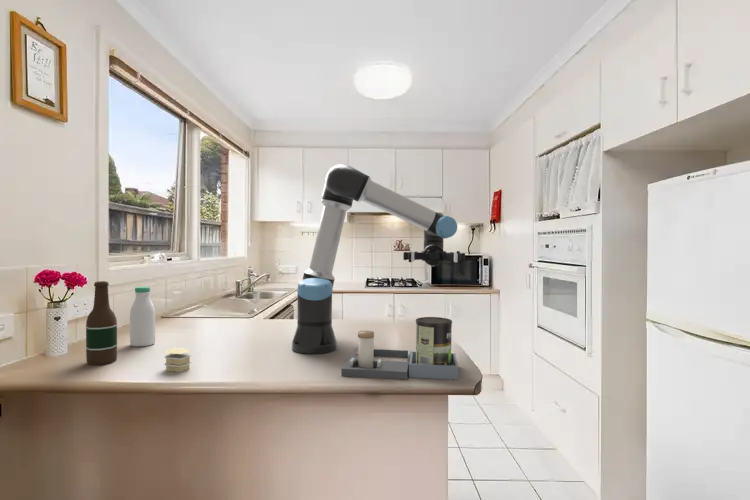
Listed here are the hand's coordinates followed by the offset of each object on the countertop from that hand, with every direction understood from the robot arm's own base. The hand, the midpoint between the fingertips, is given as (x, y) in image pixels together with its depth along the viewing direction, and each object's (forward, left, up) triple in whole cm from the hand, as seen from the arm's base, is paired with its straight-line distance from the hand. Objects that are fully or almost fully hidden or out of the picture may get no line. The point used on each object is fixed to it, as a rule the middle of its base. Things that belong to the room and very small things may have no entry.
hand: (434, 257), depth 133 cm
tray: (0, -12, -32) cm, 34 cm away
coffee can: (0, -12, -32) cm, 34 cm away
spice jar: (-19, -16, -32) cm, 40 cm away
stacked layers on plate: (-72, -22, -33) cm, 82 cm away
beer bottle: (-98, -20, -32) cm, 105 cm away
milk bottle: (-100, +1, -32) cm, 105 cm away
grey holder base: (-16, -10, -32) cm, 37 cm away
